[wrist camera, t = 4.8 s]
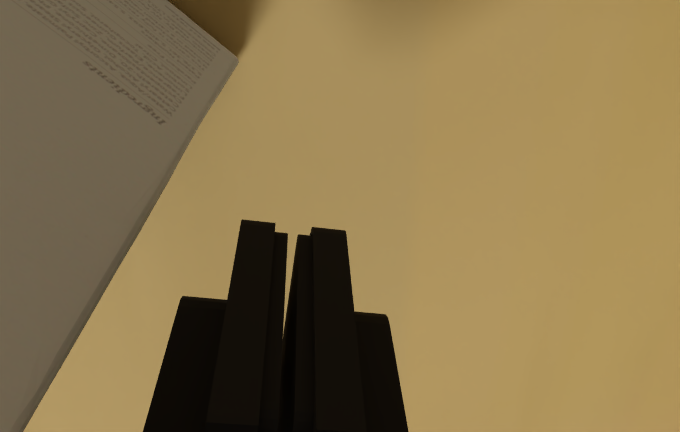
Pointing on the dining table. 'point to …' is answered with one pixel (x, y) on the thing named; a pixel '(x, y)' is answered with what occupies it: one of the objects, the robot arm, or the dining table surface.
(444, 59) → the dining table surface
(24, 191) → the small box
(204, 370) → the robot arm
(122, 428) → the dining table surface
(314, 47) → the dining table surface
